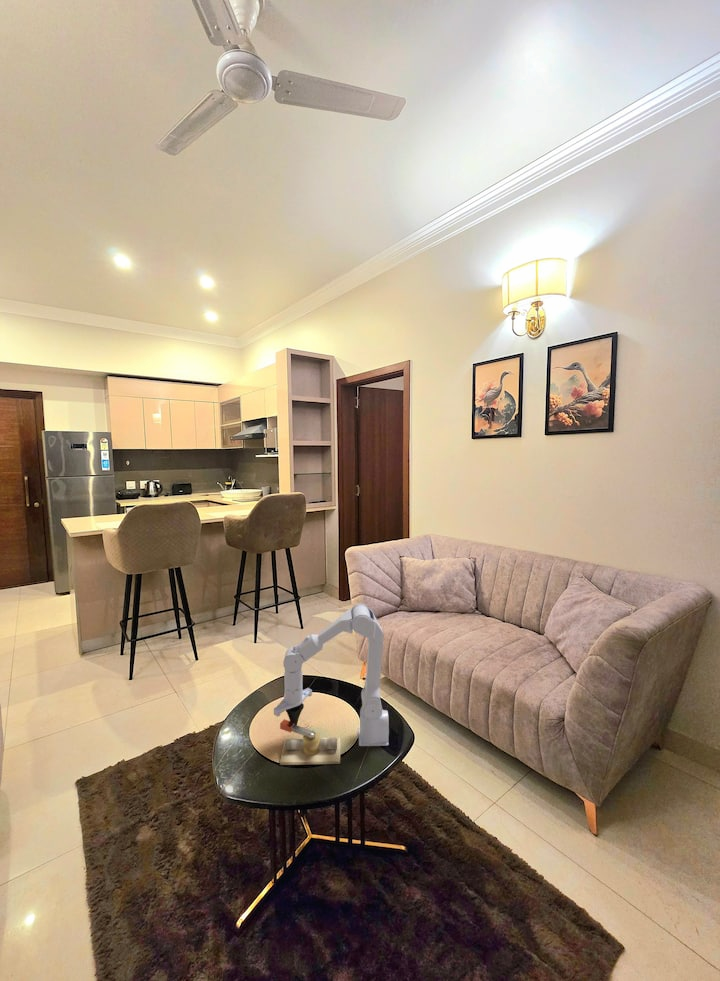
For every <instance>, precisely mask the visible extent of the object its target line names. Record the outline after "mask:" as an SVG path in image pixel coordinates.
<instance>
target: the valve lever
mask: <svg viewBox="0 0 720 981" xmlns="http://www.w3.org/2000/svg"><path fill="white" fill-rule="evenodd" d="M279 724H280V725H279V729H280V730H283V731H285V732H288V733H291V732H293V733H294V734H295V733H296V734H298V735H302V736H306V737H308V739H314V738H315V732H316V731H314V730H310V729H308V728H305V727H302V726H300V725H298V724H297V725H295V723H293V722H290V720H288V719H282V721H281V722H280V723H279Z"/></svg>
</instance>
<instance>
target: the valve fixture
mask: <svg viewBox="0 0 720 981" xmlns="http://www.w3.org/2000/svg"><path fill="white" fill-rule="evenodd" d="M314 732H315V738H314V739H308V737H306V736H303V735H302V736H303V737H302V738H299V737H298V738H297V737H295V738H284V740H283V746H282V750H281V754H280V755H281V756H280V760H279V766H295V765H297V766H298V765H300V766H301V765H302V766H303V765H335V764H336V765H340V764H341V737H321V736H320V734H319V733H318V732H316V731H314Z"/></svg>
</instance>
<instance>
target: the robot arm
mask: <svg viewBox="0 0 720 981" xmlns="http://www.w3.org/2000/svg"><path fill="white" fill-rule="evenodd" d="M353 631H354V632H355V633H357V634H359V635H361V636H363V637H365V638H366V639H368V644H367V658H366V671H365V681H364V686H363V688H361V689H362V690H361V692H360V696H361V697H360V699H361V704H362V705H361V707H360V709H359V728H357V729H358V730H357V731H358V732H357V733H358V746H359V747H381V746H383V747H384V746H387V747H388V746H389V745H390V744H389V735H390V728H389V727H390V726H389V724H390V723H389V719H390V718H389V712H388V710H386V709H383V705H382V701H381V678H382V674H381V673H382V664H383V651H384V650H383V649H384V636H385V635H384V630H383V628H382V626H381V624H380V622H379V621H378V618H376V616H375V614H374V611H373V610H372V608H370V607H368V606H367V605H366V604H364V603H357V604H355V605H354V606H352V608H349V609H347V610H346V611H345V612H344V613H343V614H341V615H340V616H339V617H338V618H337V619H336V620H334V621H333V622H332V623H331V624H329V625H328V626H327V627H326V628H324V629H323V630H322V631H321V632H319V633H317V634H315V633H312V634H310V635H308V634H307V635H305V637H304V639H303V640H302V641H301V642H299V643H298V644H294V645H293V646H291V647H289V648H288V649H287V650H286V651H285V654H284V659H283V667H284V678H283V680H284V695H283V698H282V700H281V701H280V702H279V704H277V705H276V706H275V707H273V715H274V716H275V717H276V718H278V717H280V716H281V714H282V713H284V712H286V714H287V716H288V718H289V721H290V722H293V723H295V725H297V726H298V722H299V718H300V717H301V716H300V715H301V713H302V711H303V709H304V708H305V705H304V703H303V702H304V701H305V700H306V699H307V697H312V696H313V690H312V689H311V688H310V687H307V688H305V689H303V664H304V663H306V662H307V661H308V660H310V659H311V658H313V657H314V656H316V655H317V654H318V653H320V652H321V651H322V650H323V648H324V644H326V643H328V642H329V641H330V640H332V639H334V638H335V637H337V636H339V635H340V634H341V633H343V632H345V633H349V634H353V633H354V632H353Z"/></svg>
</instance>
